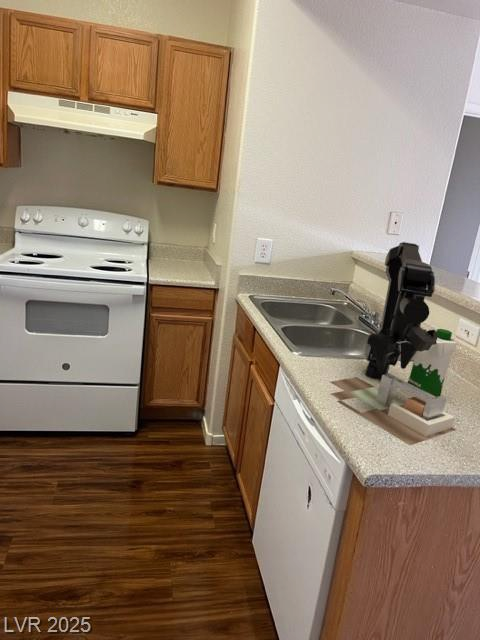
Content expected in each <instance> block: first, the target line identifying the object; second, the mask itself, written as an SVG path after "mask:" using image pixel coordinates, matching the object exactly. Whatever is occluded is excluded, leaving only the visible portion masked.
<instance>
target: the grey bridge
mask: <svg viewBox="0 0 480 640" xmlns="http://www.w3.org/2000/svg"><path fill="white" fill-rule="evenodd" d="M407 382H408V381H407ZM407 382H406V381H405V380H402V379H400V377H398V376H396V375H394V374H392V373H389V372H388V374H383V375H382V378H381V379H380V383H379V387H378V389H379V391H378V395H377V399H376V401H378V402H380V403H381V404H383V405H389V404H392V403H393V399H394V397H395V395H396V390H397V388H398V389H400V390H402V391H404V392H406V393H408V394H410V395H412V396H413V397H418V398H420V399H422V400H424V401H426V405H425V408H424V412H423V416H422V419H424V420H426V421H429V420H432V419H436V418H439V417H442V413H443V411H444V410H445V405H446V403H447V399H448V398H447V397H444V396H442V395H441V396H439V397H435V396H433V395H431V394H429V393H427V392H425V391H423V390H421V389H419V388H417V387H415V386H413V385H411V384H409V383H407Z"/></svg>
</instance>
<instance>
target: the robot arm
mask: <svg viewBox="0 0 480 640" xmlns="http://www.w3.org/2000/svg"><path fill="white" fill-rule="evenodd" d="M419 251H420V245H418V244H417V243H411V242H405V241H403V242H399V244H398V245H396V246H394V247H392V248H389V250H388V252H387V255H386V257H385V261H384V266H386V267H385V275H386V277H387V280H388V287H387V290H386V297H385V302H384V306H383V313H382V317H381V323H380V328H379V330H377V331H376V332H372V333H370V334H369V335H368V337H367V340H366V343H367V344H368V347H367V348H366V352H365V359H366V361H368V364H367V366H366V370H365V371H366V372H365V377H367V378H370V379H371V380H373V379H374V380H376V379H377V380H381V378H382V375H383V374H389V369H390V366H393V367H395V366H396V365H397V364H398V363H397V362H398V360H399V359H400V368H401V369H402V370H404V369H406V368H407V366H408V365H409V363H410V362H411V360H412V359H413V358H414V357H415V355H416V352H417V351H420V352H421V351H424V350H427V351H428V350H429V349H430V348H431V346H432V345H435V344H436V343H437V342H436V341H437V337H438V332H437V330H436V329H429V330H428V329H423V328H422V327H421V326H422V325H421V324H422V323H424V322H425V321H426V320H427V319H428V318H429V315H430V308H429V306H428V303H426V301H425V297H429V298H432V297H433V294H434V292H435V287H436V279H435V278H436V277H435V272H434V271H433V269H432V266H431V265H430V264H428V263H426V262H423V260H422V258H421V255H420V252H419ZM399 345H400V346H399ZM399 357H400V358H399Z"/></svg>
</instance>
